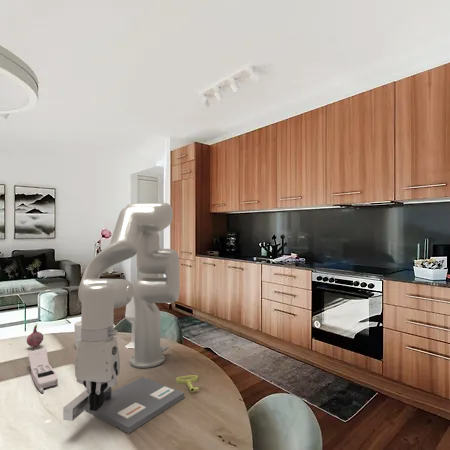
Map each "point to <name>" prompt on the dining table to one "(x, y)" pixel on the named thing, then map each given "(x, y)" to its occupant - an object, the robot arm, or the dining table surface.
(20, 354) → the dining table surface
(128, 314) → the champagne flute
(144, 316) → the robot arm
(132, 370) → the dining table surface
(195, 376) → the key
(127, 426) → the label panel
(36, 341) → the vegetable
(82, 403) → the swing arm
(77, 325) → the white cup
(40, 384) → the mobile phone
